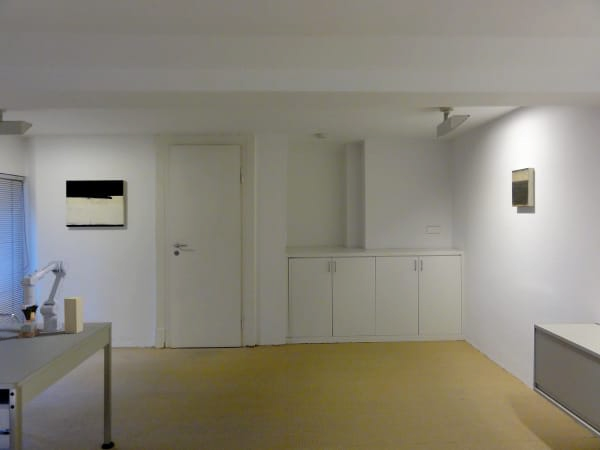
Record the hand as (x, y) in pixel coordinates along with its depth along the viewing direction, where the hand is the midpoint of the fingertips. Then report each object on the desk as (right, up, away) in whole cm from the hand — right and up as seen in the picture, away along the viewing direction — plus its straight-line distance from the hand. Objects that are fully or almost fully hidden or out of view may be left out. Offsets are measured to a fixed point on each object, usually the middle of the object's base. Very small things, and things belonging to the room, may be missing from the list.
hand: (30, 319), depth 258 cm
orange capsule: (0, -1, 0) cm, 1 cm away
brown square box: (-1, -11, +1) cm, 11 cm away
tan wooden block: (+22, -10, +9) cm, 25 cm away
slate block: (-1, -7, +1) cm, 8 cm away
